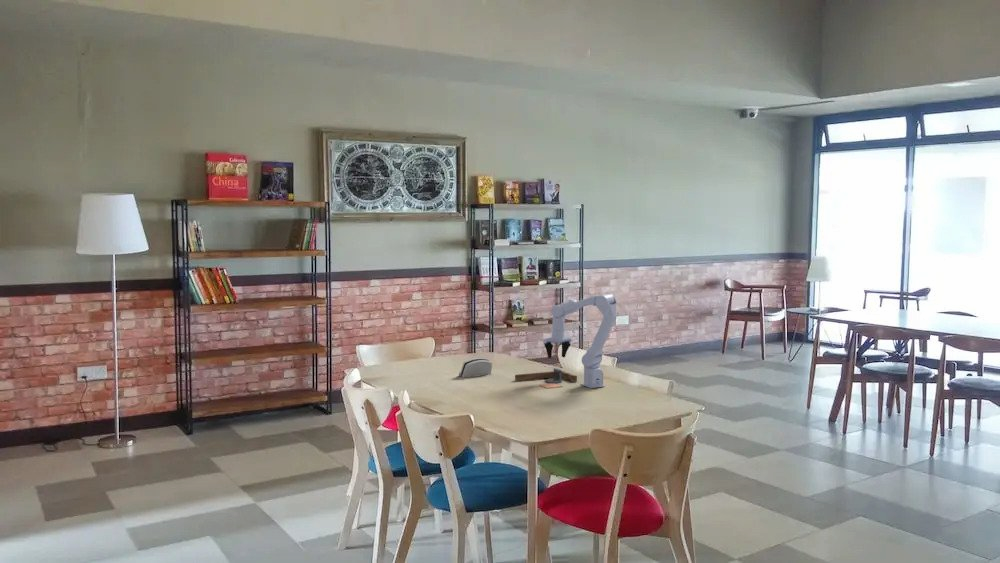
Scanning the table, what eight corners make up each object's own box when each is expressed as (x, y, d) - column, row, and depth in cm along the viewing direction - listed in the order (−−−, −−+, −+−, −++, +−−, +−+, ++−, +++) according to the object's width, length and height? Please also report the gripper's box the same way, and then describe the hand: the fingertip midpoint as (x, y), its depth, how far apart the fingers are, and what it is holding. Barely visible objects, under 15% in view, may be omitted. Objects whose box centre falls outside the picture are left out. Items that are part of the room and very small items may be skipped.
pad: (562, 386, 384) (562, 386, 384) (547, 388, 380) (547, 387, 380) (554, 383, 391) (554, 383, 391) (539, 385, 388) (539, 384, 388)
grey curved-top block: (486, 372, 419) (489, 355, 415) (490, 377, 415) (494, 359, 412) (457, 375, 410) (461, 358, 406) (462, 380, 406) (465, 362, 402)
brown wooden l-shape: (576, 382, 395) (576, 375, 395) (528, 386, 384) (528, 380, 384) (561, 376, 408) (561, 370, 408) (515, 380, 398) (515, 374, 397)
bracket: (561, 382, 394) (561, 370, 393) (550, 383, 391) (550, 371, 391) (555, 380, 399) (555, 368, 399) (544, 381, 397) (544, 369, 396)
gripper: (567, 327, 402) (565, 355, 403) (540, 328, 396) (539, 356, 397) (574, 330, 395) (572, 358, 397) (547, 331, 389) (546, 359, 391)
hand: (556, 357), depth 397 cm, fingers open, 7 cm apart
